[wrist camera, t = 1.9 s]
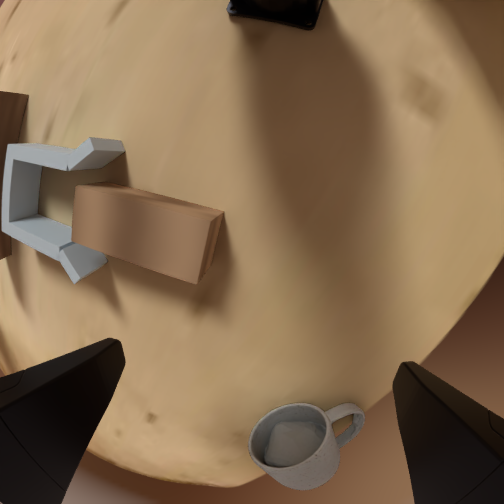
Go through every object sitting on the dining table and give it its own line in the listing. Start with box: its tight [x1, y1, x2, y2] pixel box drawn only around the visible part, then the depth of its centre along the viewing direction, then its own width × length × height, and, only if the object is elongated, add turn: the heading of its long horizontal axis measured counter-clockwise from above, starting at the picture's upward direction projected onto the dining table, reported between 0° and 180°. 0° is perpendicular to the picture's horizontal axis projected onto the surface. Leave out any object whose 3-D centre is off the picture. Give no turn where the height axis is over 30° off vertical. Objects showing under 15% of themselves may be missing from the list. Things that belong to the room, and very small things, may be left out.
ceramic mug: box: [248, 403, 365, 490], centre depth 20 cm, size 11×8×8 cm
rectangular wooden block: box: [71, 182, 224, 285], centre depth 18 cm, size 10×4×4 cm, turn 75°
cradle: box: [2, 137, 125, 284], centre depth 18 cm, size 11×11×4 cm
